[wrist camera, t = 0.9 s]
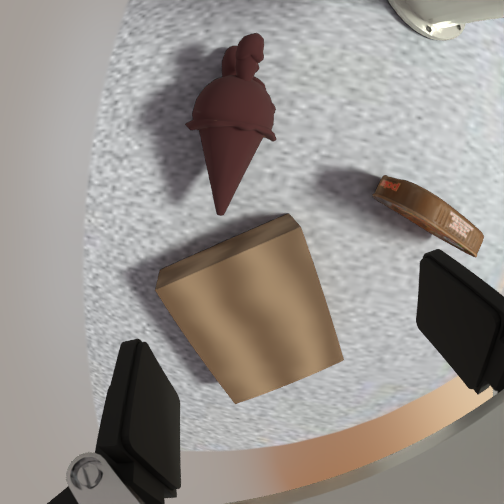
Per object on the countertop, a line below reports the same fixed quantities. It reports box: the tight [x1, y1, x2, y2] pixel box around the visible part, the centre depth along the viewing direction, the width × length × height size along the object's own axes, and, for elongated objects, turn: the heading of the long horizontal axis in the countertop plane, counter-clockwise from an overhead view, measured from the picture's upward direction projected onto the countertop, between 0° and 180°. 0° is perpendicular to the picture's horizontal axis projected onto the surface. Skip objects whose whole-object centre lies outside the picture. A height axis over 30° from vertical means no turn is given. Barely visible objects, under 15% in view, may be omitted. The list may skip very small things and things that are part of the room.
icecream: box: [185, 33, 276, 216], centre depth 24 cm, size 7×7×15 cm
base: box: [155, 213, 344, 404], centre depth 33 cm, size 14×18×4 cm
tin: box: [372, 175, 484, 257], centre depth 29 cm, size 15×3×8 cm, turn 65°
